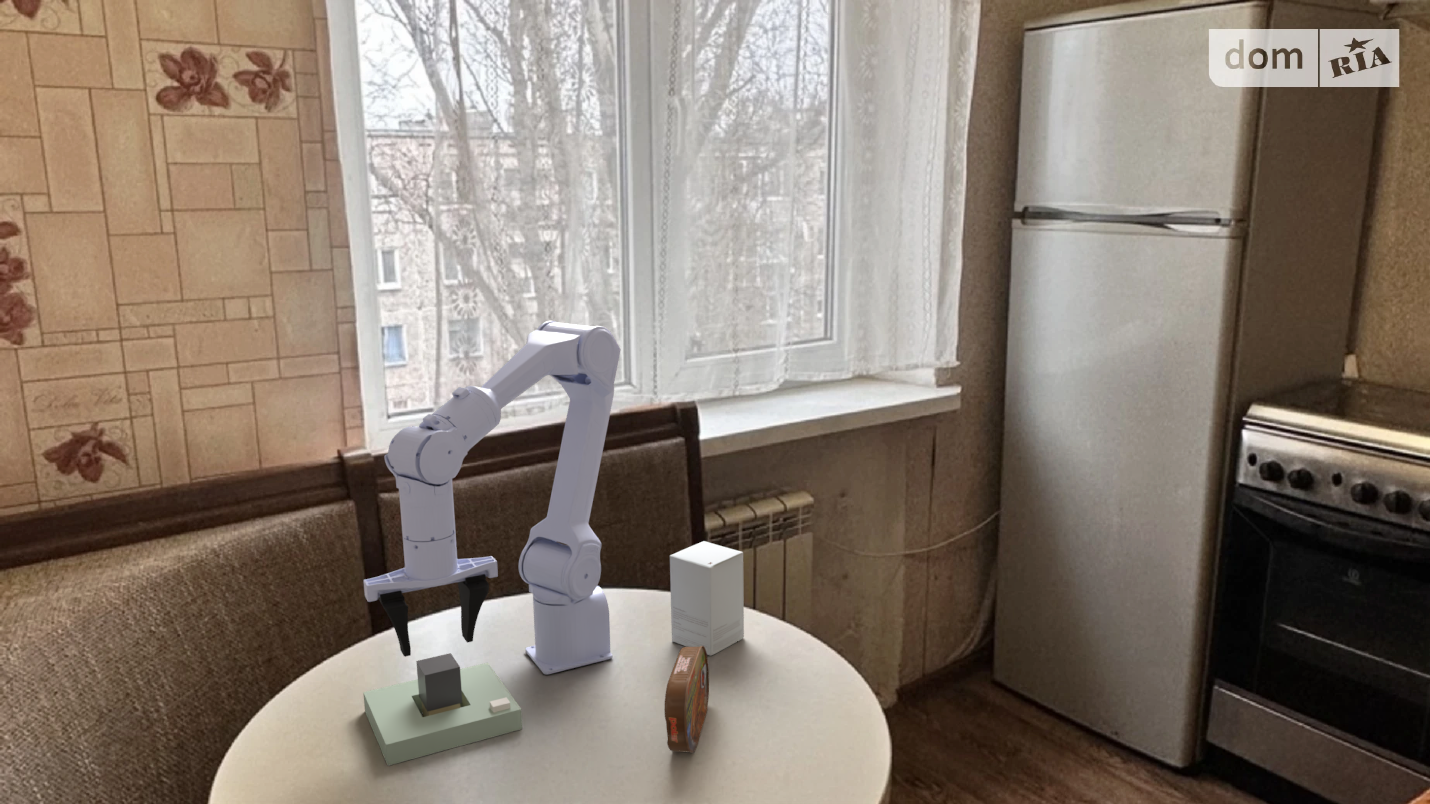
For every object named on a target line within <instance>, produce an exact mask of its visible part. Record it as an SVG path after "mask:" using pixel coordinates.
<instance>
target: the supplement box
mask: <svg viewBox="0 0 1430 804" xmlns="http://www.w3.org/2000/svg"><path fill="white" fill-rule="evenodd" d="M669 571H670V572H669V575H670V580H669V582H670V615H671V617H670V618H671V620H670V621H671V622H670V623H671V624H670V625H671V642H672V643H675V644H678V645H681V646H684V647H700V646H704V647H705V649H706V652H707V656H713V655H715V654H718V653H719V652H721V651H723V650H725V649H727V648H728V647H730V646H732V645H734V644H736V643H737V641H738V642H739V641H741V640H743V639H744V637H745V621H744V619H745V611H744V610H745V609H744V606H745V605H744V602H745V601H744V585H745V584H744V552H743V551H740V550H737V549H733V548H730V547H727V546H722V545H719V544H715V543H712V542H709V541H706V540H703V541H701V542H699V543H695V544H693V545H690V546H689V547H686V548H684V549H681V550H679V551H677V552H675V553H673V554H670V555H669Z"/></svg>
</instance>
